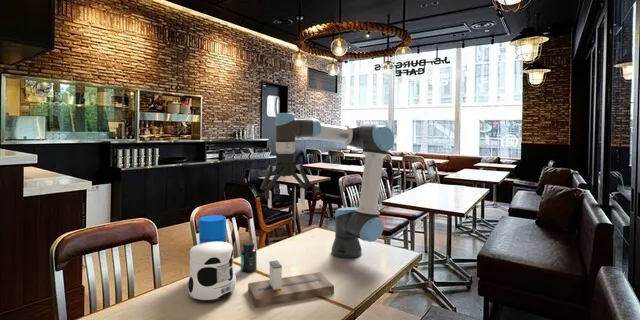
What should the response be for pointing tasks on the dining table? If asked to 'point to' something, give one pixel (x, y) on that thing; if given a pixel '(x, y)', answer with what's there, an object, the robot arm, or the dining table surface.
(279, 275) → the fader
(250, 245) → the supplement bottle
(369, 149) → the robot arm
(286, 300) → the wooden slotted board
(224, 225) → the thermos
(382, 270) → the dining table surface
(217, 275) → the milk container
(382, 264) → the dining table surface
